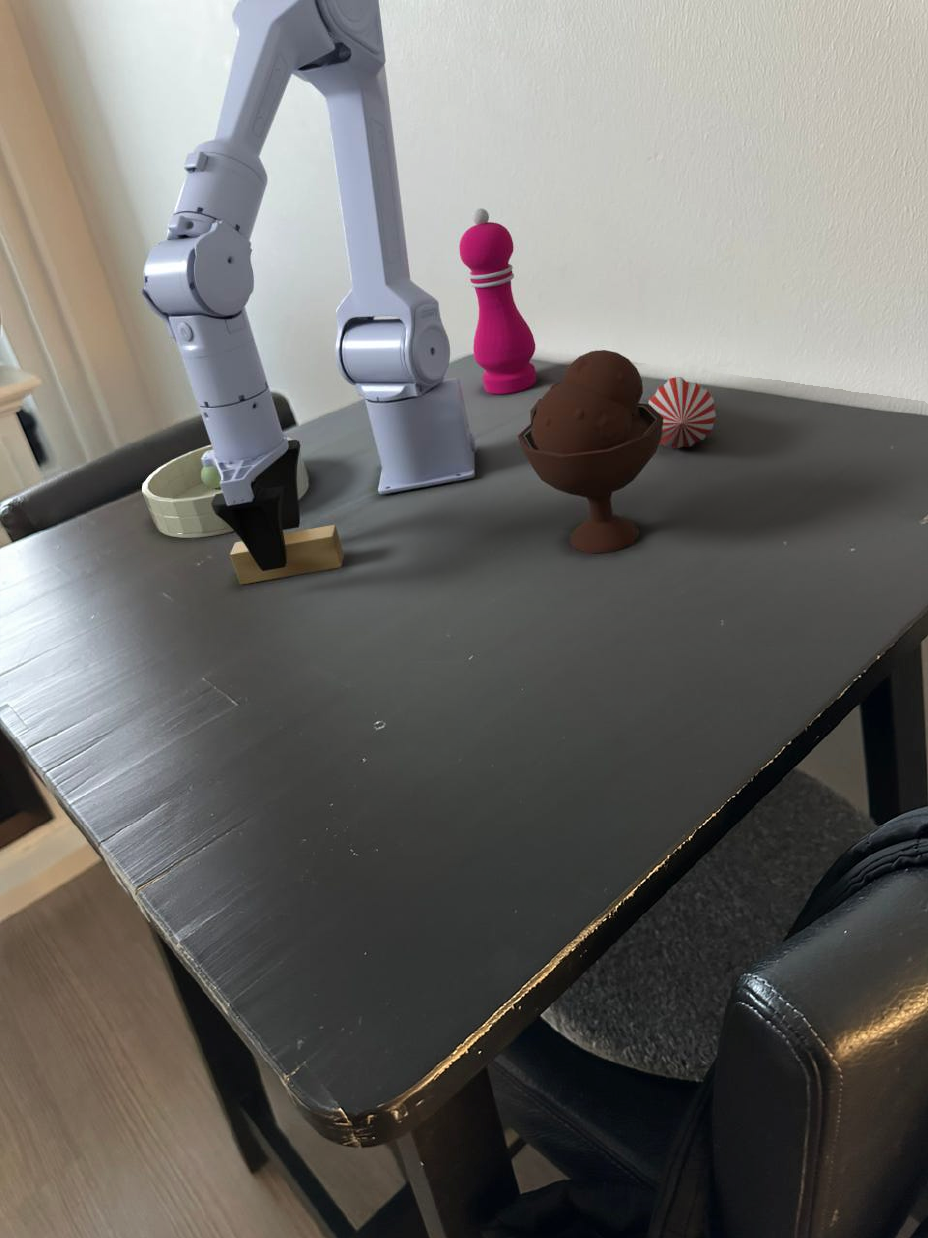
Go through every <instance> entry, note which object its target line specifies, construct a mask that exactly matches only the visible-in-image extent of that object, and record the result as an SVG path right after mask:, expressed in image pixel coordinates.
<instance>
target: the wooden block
mask: <svg viewBox="0 0 928 1238" xmlns="http://www.w3.org/2000/svg"><path fill="white" fill-rule="evenodd" d="M283 534H284V540H285V546H286V554H287V564H286V567H284V568H278V569H272V570H267V571H262V570H261V569H260V567H259V566H258V565H257V563H256V562H255V560H254V559H253V557H252V555H251V554H250V552H249V551H248V549H247V547H246V546H245V544H244V543H243V541H242V540H241V541H236V542H234V544H233V547H232V549H231V551H230V553H229V556H230V560H231V562H232V566H233V568H234V571H235V573H236V576H237V579H238V582H239V585H248V584H252V583H259V582H264V581H270V580H276V579H281V578H286V577H293V576H299V575H304V574H309V573H316V572H321V571H328V570H332V569H339V568H342V566H343V565H342V564H343V561H344V556H345V553H344V549H343V546H342V543H341V539H340V535H339V532H338V528H337V525H336V524H330V525H325V526H319V527H314V528H308V529H301V530H296V531H290V532H286V533H283Z"/></svg>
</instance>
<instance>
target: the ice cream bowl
mask: <svg viewBox="0 0 928 1238" xmlns="http://www.w3.org/2000/svg"><path fill="white" fill-rule="evenodd" d="M643 390H644V387H643V379H642V377H641V375H640V372H639V370H638V368H637V367H636V366H635V365H634V363H633V362H632V361H631V360H630V359H629V358H627V357H626V356H624V355H622V354H620V353H619V352H616V351H612V350H607V349H601V350H597V349H596V350H591V351H589V352H586V353H584V354H582V355H580V356H578V357H577V358H576V359H574V361H573V362H571V363H570V364H569V365H568V367H567V368H566V370H565V372H564V374H563V375H562V378H561V381H558V382H554V383H553V384H552V385H551V386H550V388H549V390H548V391H546V393H544V395H543V396H542V397H541V398H538V400H537V402H536V403H535V404H534V406H533V407H532V408H531V409H529V410H530V411H529V412H530V423H529V425H528V426H527V427H526V428H525V429H523V431H521V432H520V433H519V434H518V435H517V439H518V441H519V444H520V447H521V449H522V451H523V454H524V455H525V457H526V459H527V461H528V463H529V465H530V466H531V468H532V469H533V471H534V472H535V474H536V475H537V476H538V477H539V479H540V480H541V481H542V482H544V483H545V484H547V485H549V487H551V488H553V489H554V490H556V491H560V492H563V493H565V494H568V495H573V496H577V497H583V498H586V500H587V502H588V506H589V514H590V515H589V518H587V519H586V520H584V521H583V522H582V523H580V524H579V525H578V526H577V527H576V528H575V529H574V531H572V533H571V535H570V543H571V544H572V546H573V547H574V549H575V550H577V551H581V552H583V553H588V554H602V553H612V552H616V551H619V550H621V549H624V548H626V547H628V546H630V545H633V544H634V542H635V541H636V539H637V538H638V536H639V535H640V532H639V530H638V527H637V526H636V525H635V523H634V521H632V519H629V518H626V517H622V516H619V515H615V514H614V512H613V508H612V502H611V501H612V500H611V498H612V494H613V493H614V492H617V491H619V490H621V489H624V488H625V487H626V486H628V485H629V484H631V483H632V482H633V481H635V479H636V478H637V477H638V475H639V474H640V473H641V472H642V471H643V469H645V467H646V465H647V464H648V463H649V462H650V460H651V459H652V458H653V457H654V455H655V454H656V453H657V450H658V447H659V444H660V442H661V441H660V439H661V437H662V428H663V417H662V416H661V415H660V414H659V413H658V412H657V411H656V410H655V409H654V408H653V407H652V406H651V405H649V403H641V402H640V400H641V398H642V396H643V394H644V391H643Z"/></svg>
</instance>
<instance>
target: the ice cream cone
mask: <svg viewBox="0 0 928 1238" xmlns="http://www.w3.org/2000/svg"><path fill="white" fill-rule="evenodd" d="M648 404H649V405H651V406H652V407H653V408H654V409H655V410H656V411H657V412H658V413H659V414H660V415H661V416H662V417H663V428H662V437H661V439H660V442H661V444H662V445H663V446H664V447H665V446H666V447H671V448H674V449H680V448H682V447H683V448H684V447H686V448H690V447H692V446H693V445H695V444H696V443H697V442H701V441H704V440H705V438H706V436H707V435H708V434H710V433H711V431H712V430H713V428H714V424H715V420H716V417H717V415H716V411H715V399H714V398H713V397H712V395H711V393H710V391H709V390H708V389H705V388H703V387H701V386H700V385H699V384H698V383H696V382H690V381H686V380H685V379H684V378H683V377H681V376H675V377H670V378H669V379H668V380H667V381H666V383H664V384H663V385H660V386H659V387H657V390H656V392H655V393H654V394H653V396H652V397H650V398H649V399H648Z"/></svg>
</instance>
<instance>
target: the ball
mask: <svg viewBox="0 0 928 1238" xmlns="http://www.w3.org/2000/svg"><path fill="white" fill-rule="evenodd" d="M201 478H202V481H203V482H204V484H205V485H207V486H208V487H210V488H220V487H221V486H220V482H221V479H222V478H221V476H220V474H219V471H218V469H217V467H216V466H208V467H205V466H204V467H203V469H202V471H201Z"/></svg>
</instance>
